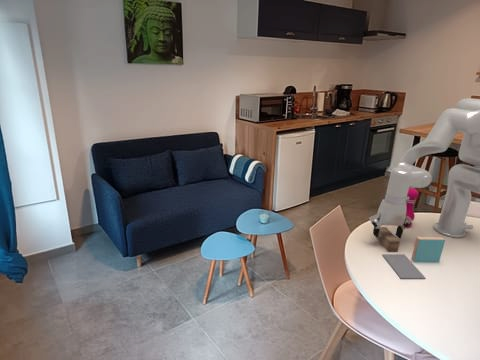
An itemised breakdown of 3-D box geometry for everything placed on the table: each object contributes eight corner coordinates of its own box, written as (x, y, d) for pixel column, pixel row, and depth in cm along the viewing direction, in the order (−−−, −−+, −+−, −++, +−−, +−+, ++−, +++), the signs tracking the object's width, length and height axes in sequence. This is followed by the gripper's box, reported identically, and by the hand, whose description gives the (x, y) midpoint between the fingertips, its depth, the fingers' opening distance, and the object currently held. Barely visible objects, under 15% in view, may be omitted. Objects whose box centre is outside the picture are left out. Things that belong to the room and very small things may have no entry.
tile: (411, 259, 129) (416, 236, 125) (435, 259, 129) (442, 237, 126) (413, 262, 127) (419, 239, 124) (439, 262, 127) (445, 239, 124)
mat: (404, 255, 131) (404, 254, 131) (425, 279, 117) (425, 278, 117) (382, 255, 131) (382, 254, 131) (400, 279, 117) (401, 277, 117)
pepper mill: (414, 229, 153) (424, 188, 146) (397, 227, 154) (406, 187, 147) (409, 222, 159) (419, 183, 152) (394, 220, 161) (402, 181, 154)
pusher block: (375, 237, 145) (377, 227, 143) (384, 237, 145) (386, 227, 143) (387, 252, 133) (390, 241, 132) (397, 252, 134) (399, 241, 132)
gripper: (411, 195, 136) (402, 232, 141) (370, 194, 135) (363, 231, 141) (421, 203, 129) (411, 241, 134) (378, 201, 128) (370, 240, 133)
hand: (386, 236), depth 137 cm, fingers open, 9 cm apart
